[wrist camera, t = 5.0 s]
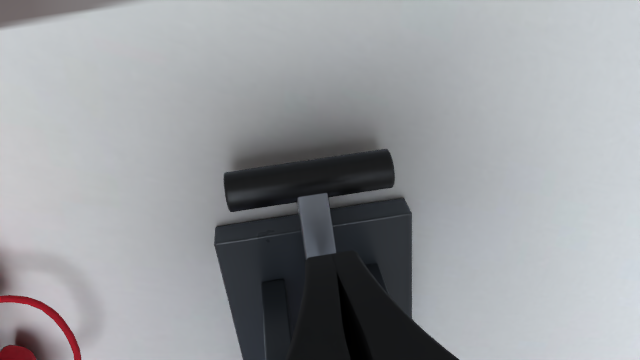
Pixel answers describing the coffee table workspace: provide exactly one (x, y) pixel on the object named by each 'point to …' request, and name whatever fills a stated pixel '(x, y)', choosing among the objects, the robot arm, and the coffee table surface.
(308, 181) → the lever
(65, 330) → the alarm clock
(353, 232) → the bracket
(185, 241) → the coffee table surface
